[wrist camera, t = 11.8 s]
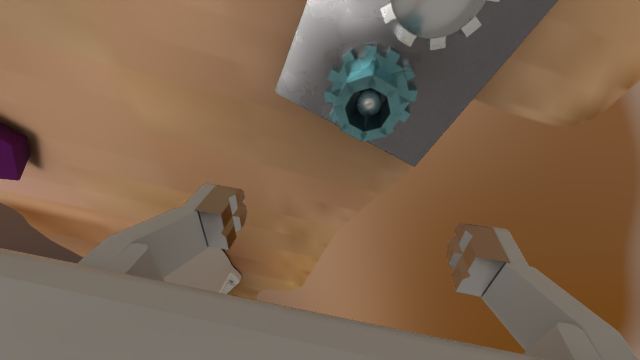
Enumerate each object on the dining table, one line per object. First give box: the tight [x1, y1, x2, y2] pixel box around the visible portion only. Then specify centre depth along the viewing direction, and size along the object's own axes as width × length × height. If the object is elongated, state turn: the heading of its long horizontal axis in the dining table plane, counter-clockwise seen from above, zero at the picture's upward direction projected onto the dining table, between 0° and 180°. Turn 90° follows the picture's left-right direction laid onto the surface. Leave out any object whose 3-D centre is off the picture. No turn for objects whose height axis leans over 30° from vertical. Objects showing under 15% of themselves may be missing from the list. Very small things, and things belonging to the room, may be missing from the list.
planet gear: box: [324, 44, 417, 142], centre depth 22 cm, size 8×8×5 cm
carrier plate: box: [275, 0, 558, 166], centre depth 20 cm, size 20×16×6 cm
